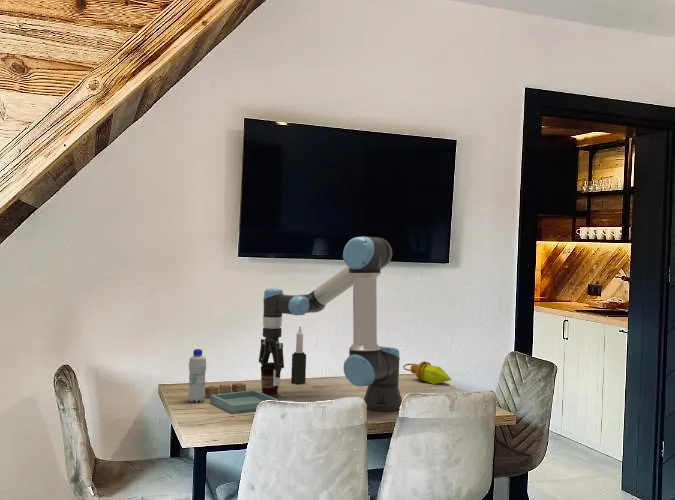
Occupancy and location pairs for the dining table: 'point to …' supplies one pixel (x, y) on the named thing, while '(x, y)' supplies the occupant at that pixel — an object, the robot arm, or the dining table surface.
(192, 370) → the bottle
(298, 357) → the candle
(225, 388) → the walnut block
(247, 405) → the tray
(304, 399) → the dining table surface
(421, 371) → the plumb bob
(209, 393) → the walnut block
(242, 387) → the walnut block
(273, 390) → the coffee cup
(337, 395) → the dining table surface
